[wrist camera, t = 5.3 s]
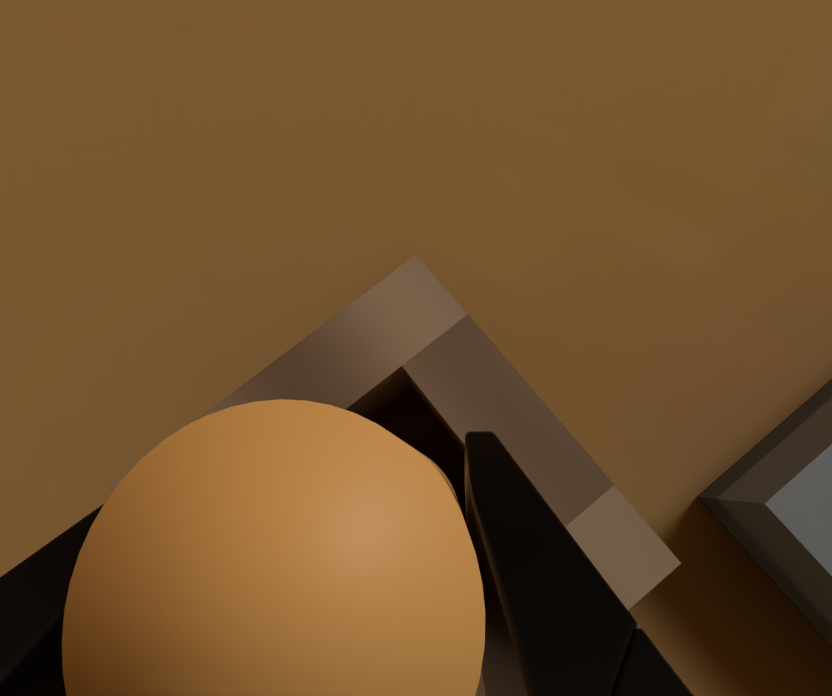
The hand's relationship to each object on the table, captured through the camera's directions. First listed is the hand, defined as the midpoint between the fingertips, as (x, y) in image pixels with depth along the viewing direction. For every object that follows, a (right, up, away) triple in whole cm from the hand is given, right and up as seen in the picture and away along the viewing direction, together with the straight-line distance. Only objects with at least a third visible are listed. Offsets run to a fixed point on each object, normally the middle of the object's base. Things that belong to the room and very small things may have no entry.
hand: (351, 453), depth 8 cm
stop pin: (0, -3, +6) cm, 7 cm away
